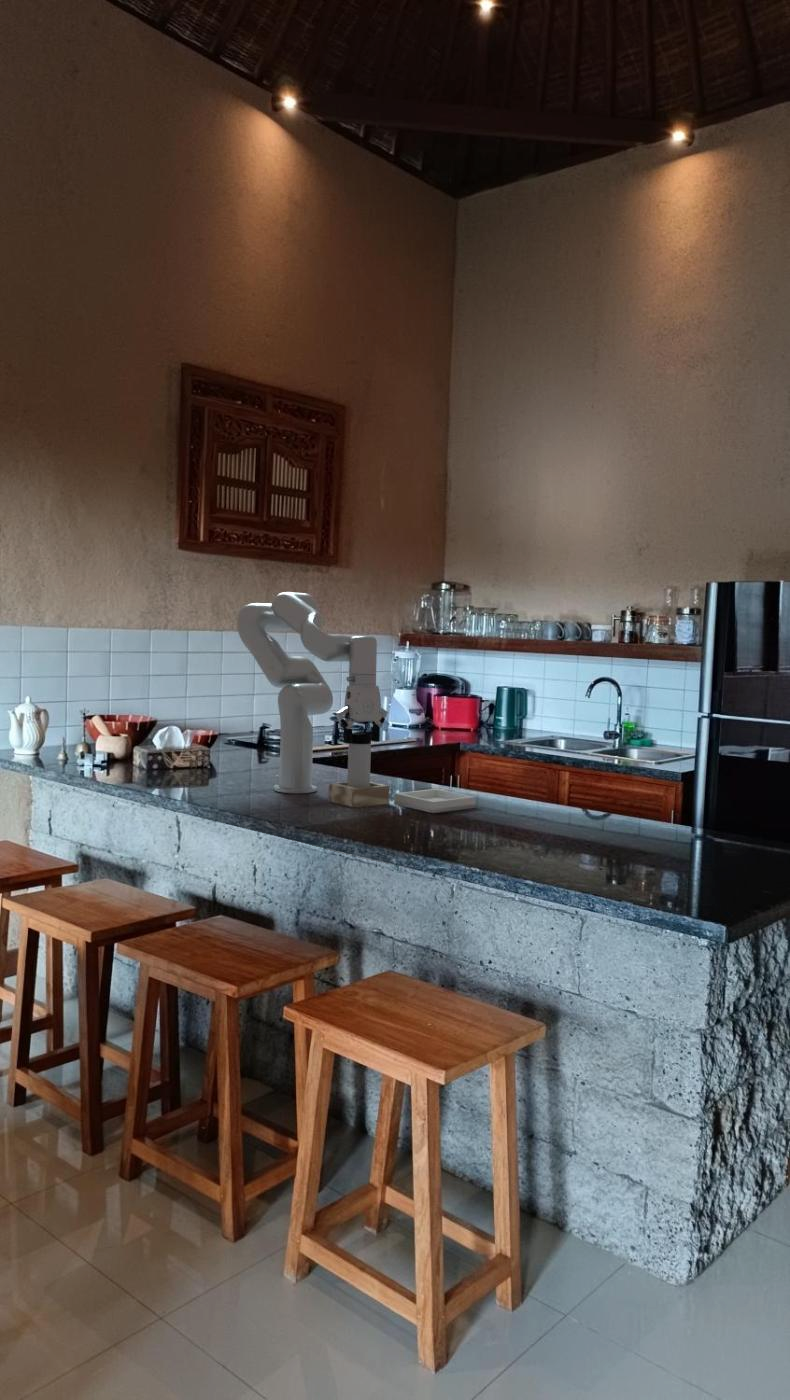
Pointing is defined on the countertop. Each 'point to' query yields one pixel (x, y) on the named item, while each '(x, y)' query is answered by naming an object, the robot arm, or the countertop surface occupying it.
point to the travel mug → (359, 760)
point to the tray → (434, 800)
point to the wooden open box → (359, 794)
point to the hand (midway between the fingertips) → (361, 742)
